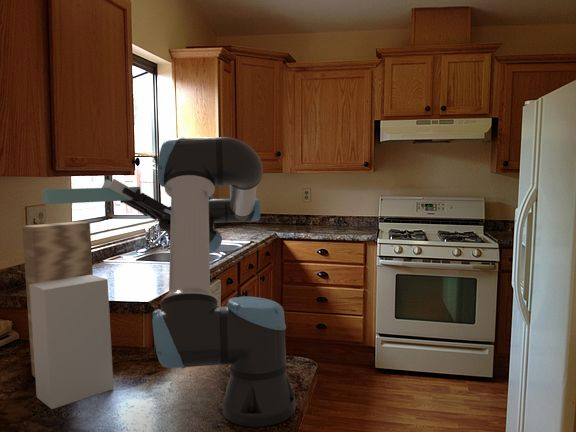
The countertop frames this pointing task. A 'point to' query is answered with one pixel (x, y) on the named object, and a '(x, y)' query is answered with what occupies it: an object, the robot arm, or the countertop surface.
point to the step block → (71, 339)
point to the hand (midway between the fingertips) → (108, 183)
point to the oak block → (55, 257)
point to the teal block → (82, 195)
